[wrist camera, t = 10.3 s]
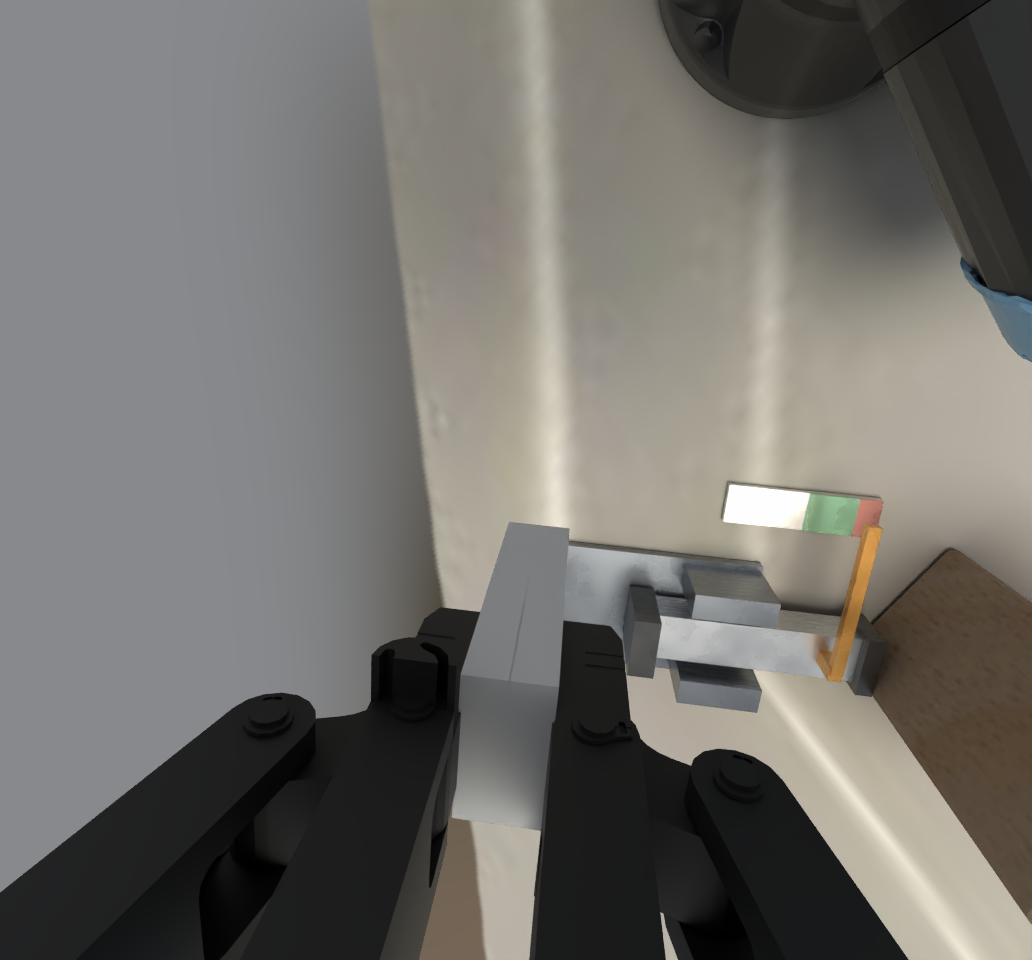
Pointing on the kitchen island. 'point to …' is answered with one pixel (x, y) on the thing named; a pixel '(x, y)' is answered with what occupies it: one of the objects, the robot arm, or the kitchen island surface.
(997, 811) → the wooden block
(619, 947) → the robot arm
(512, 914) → the kitchen island surface
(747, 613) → the gauge housing
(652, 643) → the gauge slider with pointer
